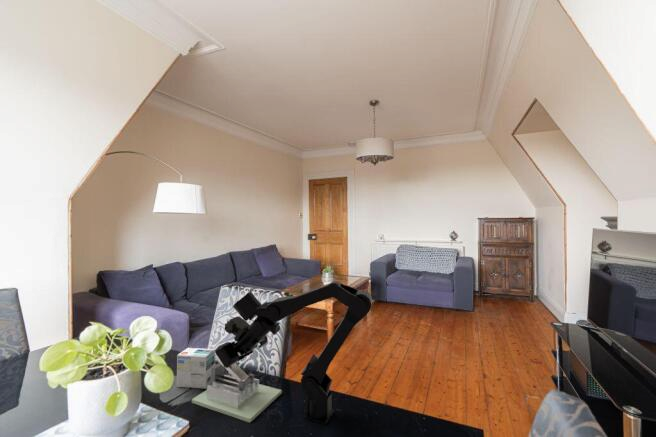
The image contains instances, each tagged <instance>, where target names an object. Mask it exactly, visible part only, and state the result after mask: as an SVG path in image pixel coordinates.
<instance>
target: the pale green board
mask: <svg viewBox="0 0 656 437" xmlns="http://www.w3.org/2000/svg"><path fill="white" fill-rule="evenodd" d="M282 394H283V390H282V389H280V388H276V387H272V386H268V385H264V384H260V383H259V392H258V393H257V394H256V395H255V396H253V397H252V398H251V399H250V400H249V401H247V402H246V403H245V404H244V405H242V406H241V407H240V408H239V409H235V408H232V407H229V406H226V405H223V404H220V403H217V402H214V401H211V400H208V399H207V389H205V391H202V392H201V393H200V394H197V395H196V396H195V397H193V398H192V399H191V403H192V404H194V405H198V406H200V407H202V408H205V409H209V410H212V411H215V412H217V413H221V414H223V415H226V416H229V417H233V418H235V419H238V420H241V421H244V422H246V423H251V422H253V421H254V420H255V419H256V418H257V417H258V416H259V415H260V414H261V413H262V412H263V411H264V410H265V409H266V408H267V407H268V406H270V404H272V402H274V401H275V400H277V398H278V397H279V396H280V395H282Z"/></svg>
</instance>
